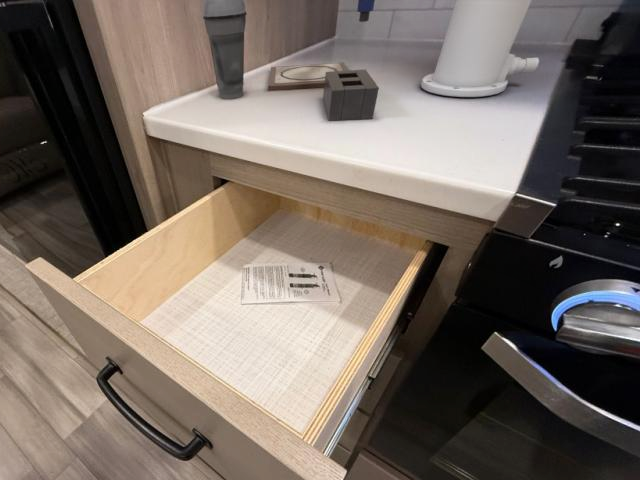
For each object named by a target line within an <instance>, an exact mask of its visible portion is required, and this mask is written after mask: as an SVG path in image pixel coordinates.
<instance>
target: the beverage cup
mask: <svg viewBox="0 0 640 480" xmlns="http://www.w3.org/2000/svg"><path fill="white" fill-rule="evenodd" d="M246 17H247V9H246V5H245V0H204V3H203V17H202V19H203V20H204V26H205V30H206V34H207V36H208V40H209V41H208V42H209V46H210V47H209V48H210V52H211V58H212V63H213V70H214V74H215V80H216V86H217V89H218V95H219V98H220V99H222V100H233V99H239V98H241V97H242V96H244V83H245V82H244V80H245V78H244V75H245V73H244V71H245V69H244V68H245V31H246V23H247V18H246Z"/></svg>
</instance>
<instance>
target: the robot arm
mask: <svg viewBox="0 0 640 480" xmlns="http://www.w3.org/2000/svg"><path fill="white" fill-rule="evenodd" d="M531 3H532V0H456V1H455V4H454V7H453V10H452V14H451V17H450V21H449V24H448V26H447V30H446V33H445V37H444V40H443V43H442V48H441V49H440V53H439V56H438V59H437V63H436V66H435V70H434V72H433V73H430V74H427V75H425V76H424V77H422V80H421V83H420V87H421V88H422V89H423V90H424V91H425V92H428V93H431V94H435V95H439V96H444V97H453V98H481V97H489V96H494V95H498V94H501V93H503V91H505V90H506V88H507V86H508V84H509V81H508V78H507V77H511V76H512V75H513V74H515V73H516V74H517V73H518V74H526V73H527V74H530V73H534V72H535V71H536V69H537V68H538V66H539V63H540V58H539V57H525V58H522V57H521V56H516V55H515V54H513V53H511V50H512V48H513V45H514V42H515V41H516V38H517V35H518V34H519V31H520V28H521V26H522V24H523V21H524V19H525V17H526V14H527V12H528V9H529V7H530V6H531Z"/></svg>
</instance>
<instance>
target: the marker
mask: <svg viewBox="0 0 640 480" xmlns="http://www.w3.org/2000/svg"><path fill="white" fill-rule="evenodd" d="M375 2H376V0H358V3H357V9H356V10H357V11H356V12H358V13H359V17H358V21H359V22H361V23H363V22H368V21H369V19H370V13H371V12H372V11H374V9H375Z"/></svg>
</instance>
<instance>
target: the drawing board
mask: <svg viewBox="0 0 640 480" xmlns="http://www.w3.org/2000/svg"><path fill="white" fill-rule="evenodd" d="M348 70H349V68H348V67H347V65H346V63H345V62H343V61H342V62H327V63H313V64H312V63H311V64H295V65H281V66H271V67H270V71H269V78H268V85H267V90H268V91H285V90H304V89H319V88H324V84H325V74H326V72H333V71H348Z"/></svg>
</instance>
